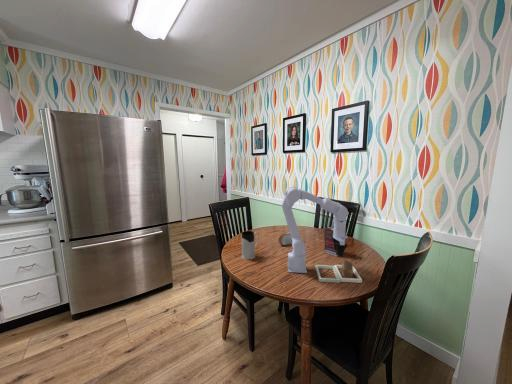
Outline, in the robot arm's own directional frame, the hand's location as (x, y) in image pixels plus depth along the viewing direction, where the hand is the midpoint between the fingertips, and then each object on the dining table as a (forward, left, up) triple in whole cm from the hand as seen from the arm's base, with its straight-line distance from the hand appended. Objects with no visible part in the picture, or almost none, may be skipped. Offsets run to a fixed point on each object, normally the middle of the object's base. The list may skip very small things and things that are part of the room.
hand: (338, 253), depth 109 cm
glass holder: (-49, +14, -10) cm, 51 cm away
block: (+3, -5, -9) cm, 11 cm away
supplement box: (+1, +21, -10) cm, 23 cm away
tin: (-26, +34, -10) cm, 43 cm away
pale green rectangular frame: (-7, -5, -9) cm, 13 cm away
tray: (+3, -4, -9) cm, 11 cm away
